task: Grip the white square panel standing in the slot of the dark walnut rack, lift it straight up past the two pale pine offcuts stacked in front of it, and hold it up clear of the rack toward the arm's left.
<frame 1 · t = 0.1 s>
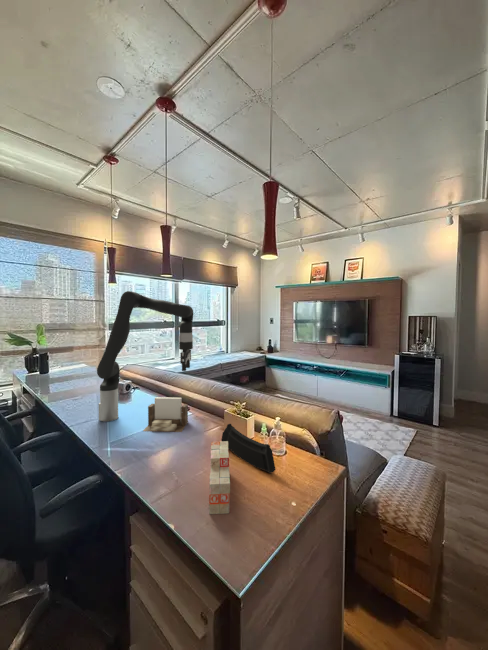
hand: (186, 369, 151), 29 cm above the table, tool pointing down, fingers open, 8 cm apart
offcut upper: (161, 425, 138), point 3 cm above the table, touching offcut lower
offcut lower: (163, 429, 138), point 1 cm above the table, touching offcut upper, rack
rack: (166, 427, 142), on the table
white square panel: (168, 423, 145), point 1 cm above the table, touching rack
stack of blocks: (219, 492, 90), on the table
magazine: (245, 459, 111), on the table
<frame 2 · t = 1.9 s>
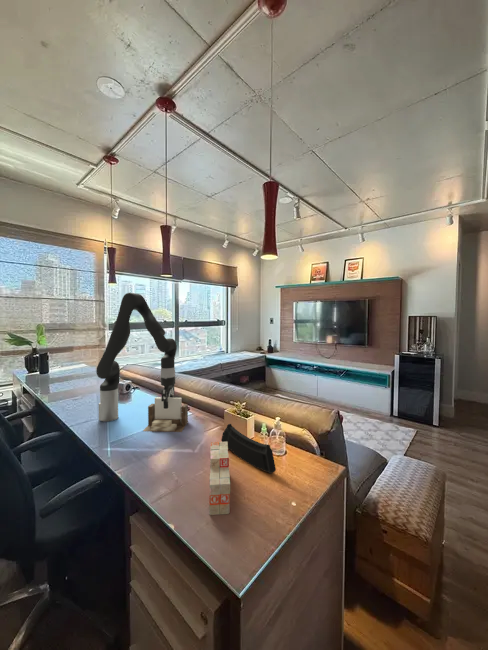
hand: (168, 405, 144), 11 cm above the table, tool pointing down, fingers open, 8 cm apart
nothing on the table moved.
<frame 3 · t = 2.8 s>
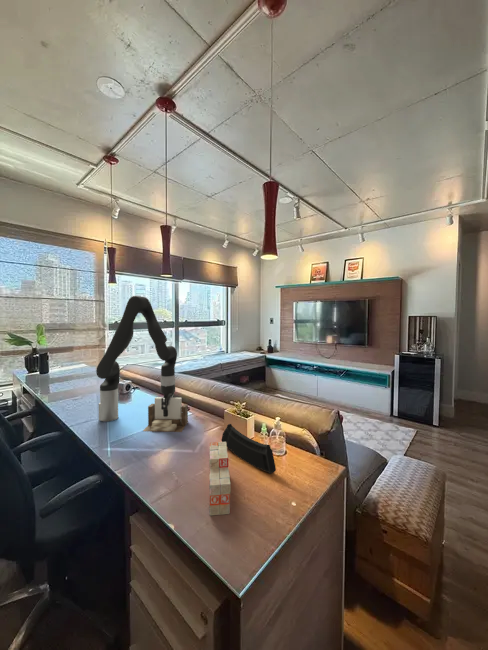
hand: (168, 413, 144), 7 cm above the table, tool pointing down, fingers open, 8 cm apart
nothing on the table moved.
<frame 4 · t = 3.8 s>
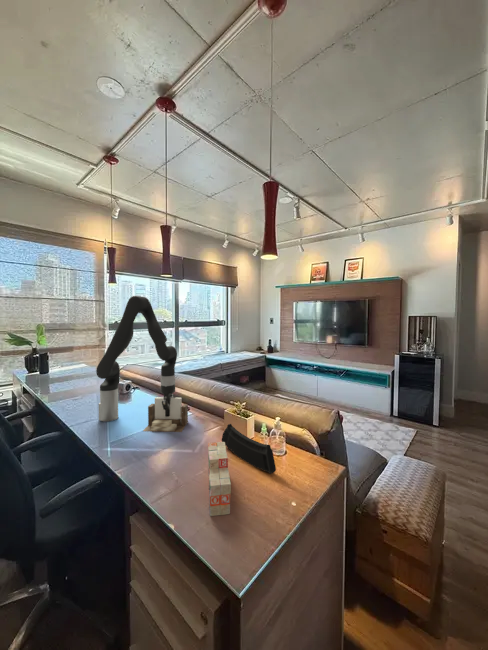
hand: (168, 415, 145), 6 cm above the table, tool pointing down, fingers closed on white square panel, 2 cm apart
white square panel: (168, 423, 145), point 1 cm above the table, touching gripper, rack
everything else where it was.
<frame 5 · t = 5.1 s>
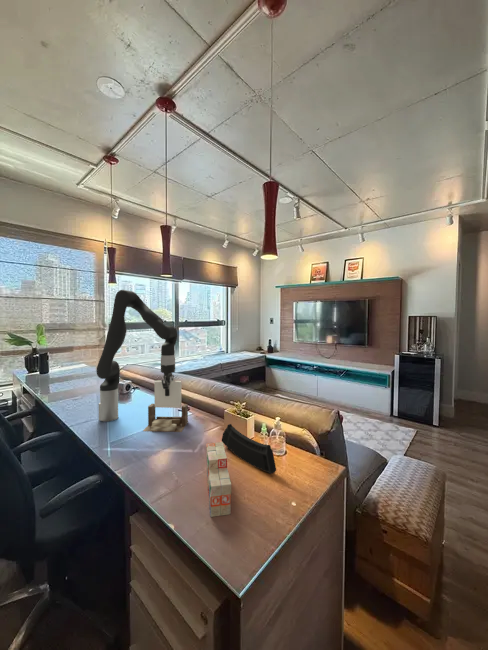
hand: (167, 395, 144), 17 cm above the table, tool pointing down, fingers closed on white square panel
white square panel: (168, 407, 144), point 10 cm above the table, touching gripper
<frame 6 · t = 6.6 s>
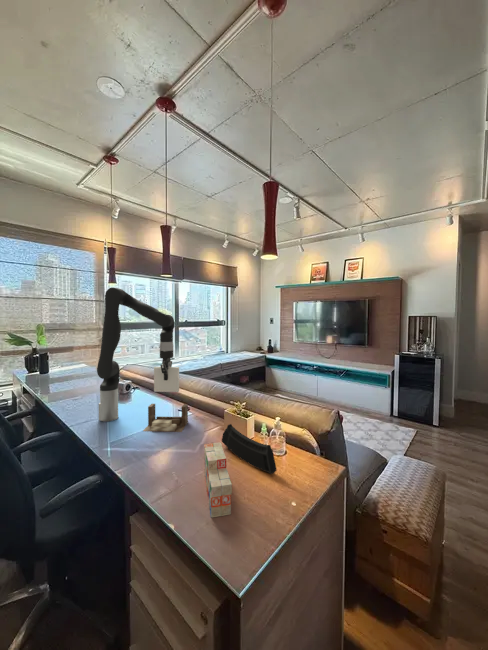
hand: (166, 379, 154), 23 cm above the table, tool pointing down, fingers closed on white square panel
white square panel: (166, 391, 154), point 16 cm above the table, touching gripper
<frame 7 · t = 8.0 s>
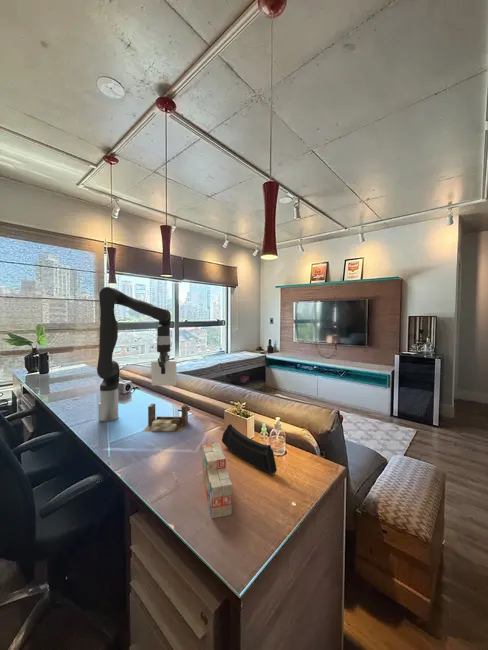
hand: (163, 373, 155), 26 cm above the table, tool pointing down, fingers closed on white square panel
white square panel: (164, 385, 155), point 19 cm above the table, touching gripper
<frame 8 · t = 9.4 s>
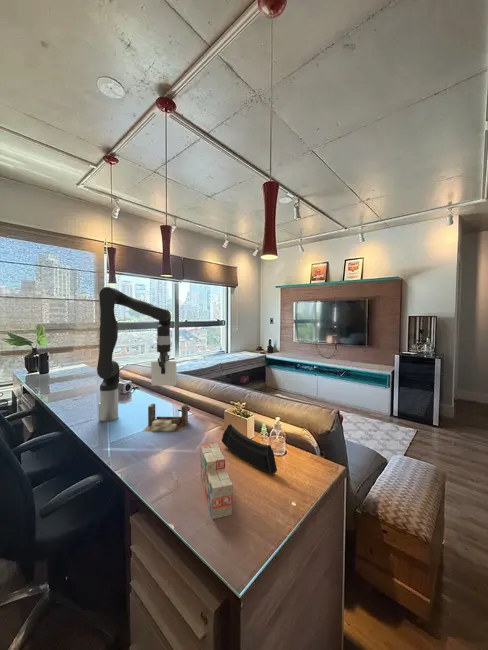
hand: (163, 373, 155), 26 cm above the table, tool pointing down, fingers closed on white square panel
white square panel: (164, 385, 155), point 19 cm above the table, touching gripper
at the end: white square panel inside the target area (1.5 cm from its centre), point 19.1 cm above the table; the gripper is holding white square panel; offcut lower moved 0.0 cm from its start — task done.
